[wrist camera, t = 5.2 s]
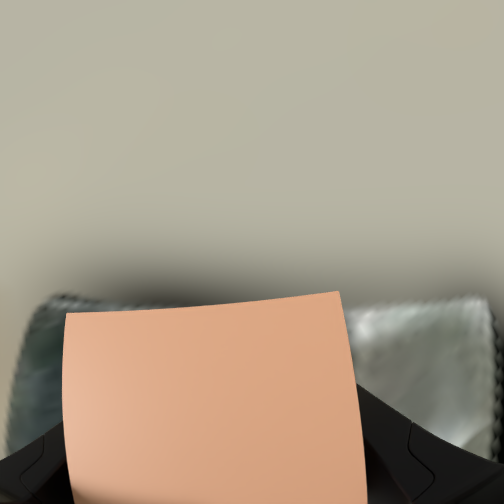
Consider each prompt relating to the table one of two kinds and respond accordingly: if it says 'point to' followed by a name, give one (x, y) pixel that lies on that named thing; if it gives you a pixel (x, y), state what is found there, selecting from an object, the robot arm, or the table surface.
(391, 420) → the robot arm
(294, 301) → the post
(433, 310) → the table surface
